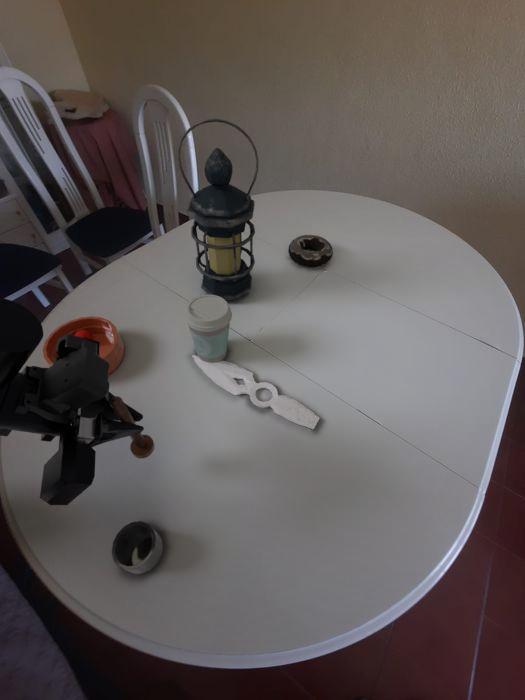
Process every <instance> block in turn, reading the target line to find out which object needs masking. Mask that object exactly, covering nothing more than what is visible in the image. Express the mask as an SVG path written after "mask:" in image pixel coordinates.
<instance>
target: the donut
mask: <svg viewBox="0 0 525 700" xmlns="http://www.w3.org/2000/svg"><path fill="white" fill-rule="evenodd" d="M287 251H288V255H289V257H290V260H292V261H293V262H294V263H295V264H297V265H298V266H301V267H304V268H313V269H314V268H315V269H316V268H320V267H322V266H326V265H327V264H328V263H329V262H330V261H331V259H332V258H333V256H334V248H333V246H332V244H331V243H330V241H329V240H328V239H326V238H325V237H322V236H319V235H317V234H303V235H300V236H297V237H295V238H294V239H292V240H291V242H290V243H289V245H288V250H287Z"/></svg>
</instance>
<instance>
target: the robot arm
mask: <svg viewBox="0 0 525 700" xmlns="http://www.w3.org/2000/svg"><path fill="white" fill-rule="evenodd" d="M43 338H44V329H43V325H42V323H41V321H40V320H39V318H38V317H37V315H35V314H34V313H33V312H32V311H31V310H30V309H28V308H27V307H25V306H23V305H22V304H20V303H19V302H16V301H14V300H11V299H9V298H8V299H7V298H5V297H4V298H3V297H1V298H0V437H8V436H9V435H10V434H11V432H12V431H13V432H14V431H15V432H23V433H28V434H29V433H30V434H37V435H41V436H40V441H41V442H49V443H51V442H52V441H53V440H54V439H55V438H57V437H59V439H58V440H59V441H58V442H59V443H58V449H57V451H56V452H55V453H54V454H53V455H52V456H51V457H50V458H49V459H48V460H47V461H46V462H45V464H43V470H42V478H41V486H40V492H39V499H40V500H42V501H43V502H45V503H46V504H48V505H49V506H68V505H69V504H71V503H72V502H73V501H74V500H75V499H77V498H78V497H79V496H80V495H82V493H84V492H85V491H86V490H87V489H88V488H90V486H91V485H92V484H93V482H94V479H95V476H96V457H97V456H96V455H97V454H96V453H97V451H96V450H95V449H94V447H97V446H100V445H102V444H105V443H109V442H113V441H117V440H120V439H123V438H128V437H130V436H131V435H135V434H139V433H141V434H142V432H143V431H144V430H145V427H144V426H143V425H139V424H137V423H138V422H141V421H142V420H143V419H144V415H143V414H142V413H141V412H139V411H137V410H136V409H135V408H133V407H131V406H130V405H129V404H127V403H125V405H126V407H127V409H128V410H129V412H130V414H131V416H132V418H133V419H134V421H135V423H136V422H137V423H136V424H132V423H126V422H121V421H120V420H119V418H118V417H117V415H116V413H115V412H114V410H113V409H112V407H111V406H110V400H111V398H113V397H115V396H116V395H114V394H113V393H112V392H110V381H109V375H108V369H109V368H110V364H109V362H108V361H106V360H105V359H103V358H102V357H100V356H99V347H100V342H98V341H95V340H92V339H89V338H86V337H84V338H82V337H78V336H74V335H70V334H66V335H64V336H62V337H61V338H59V339H58V341H57V348H56V353H57V355H58V356H59V357H58V356H57V357H55V358H54V364H53V365H52V366H49V367H40V366H37V365H31V366H29V365H26V366H25V364H26V363H27V362H28V360H29V358H30V357H31V356H32V354H34V352H35V351H36V349H37V347H38V346H39V345H40V344H41V342H42V340H43ZM24 366H25V367H24ZM23 367H24V368H23ZM22 368H23V370H22ZM21 370H22V371H21Z"/></svg>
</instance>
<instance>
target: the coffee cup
mask: <svg viewBox="0 0 525 700" xmlns="http://www.w3.org/2000/svg"><path fill="white" fill-rule="evenodd" d="M232 319H233V313H232V309H231V307H230V305H229V303H228V302H227V300H224V299H223V298H221V297H219V296H216V295H209V294H202V295H198V296H196V297H194V298H192V299H191V300H189V302H188V303H187V306H186V308H185V310H184V322H185V323H186V325H187V326H188V329H189V332H190V335H191V338H192V341H193V345H194V348H195V351H196V354H197V356H198V357H199V358H200V359H201V360H202V361H205V362H208V363H216V362H219V361H221V360H223V361H224V359H225V358H226V356H227V353H228V352H227V351H228V343H229V334H230V324H231V320H232Z"/></svg>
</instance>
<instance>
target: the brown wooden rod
mask: <svg viewBox="0 0 525 700" xmlns="http://www.w3.org/2000/svg"><path fill="white" fill-rule="evenodd" d="M114 396H115V397H113V398H111V400H110V406H111V407H112V409H113V410H114V412H115V413H116V415H117V417H118V418H119V420H120V422H126V423H132V424H136V425H137V423H136V422H135V421H134V419H133V418H132V416H131V414H130V412H129V410H128V409H127V407H126V405H125V404H126V403H125V402H124V400H123V398H122V397H121V396H118V395H114ZM129 438H130V439H131V440H132V441H131V442H130V445H129V449H130V452H131V454H132V455H133V457H135V458H137V459H145V458H148V457H150V456H151V455H152V454H153V452H154V450H155V448H156V444H155V441H154V440H153V438H152V437H151V436H150V435H149V434H142V432H141V433H139V434H135V435H131V436H129Z"/></svg>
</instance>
